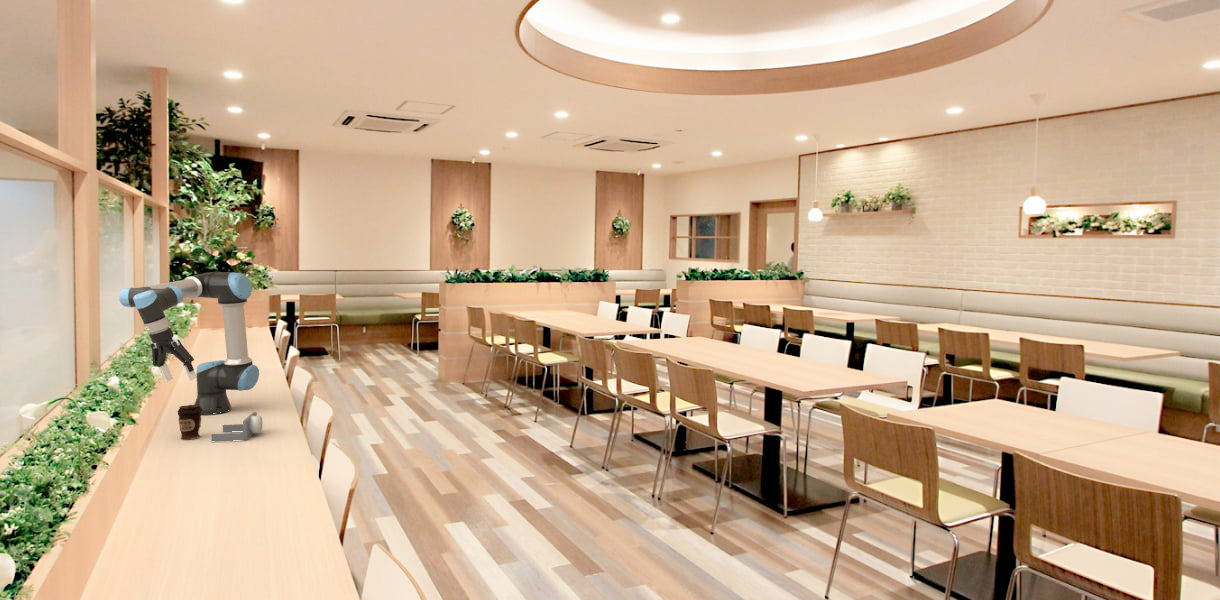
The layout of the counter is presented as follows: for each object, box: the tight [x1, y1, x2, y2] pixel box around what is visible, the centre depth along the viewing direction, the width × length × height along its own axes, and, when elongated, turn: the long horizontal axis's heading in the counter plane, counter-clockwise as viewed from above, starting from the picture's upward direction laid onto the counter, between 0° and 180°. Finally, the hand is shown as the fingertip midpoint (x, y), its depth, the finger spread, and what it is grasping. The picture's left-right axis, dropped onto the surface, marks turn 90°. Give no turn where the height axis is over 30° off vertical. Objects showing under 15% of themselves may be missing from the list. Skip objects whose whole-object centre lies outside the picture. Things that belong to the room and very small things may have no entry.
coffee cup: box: [177, 404, 202, 440], centre depth 285 cm, size 9×8×13 cm
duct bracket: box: [210, 411, 264, 442], centre depth 289 cm, size 15×16×8 cm
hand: (181, 379), depth 281 cm, fingers open, 13 cm apart
